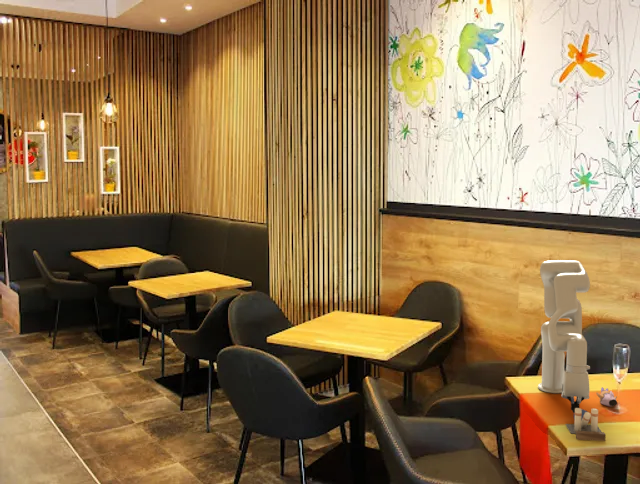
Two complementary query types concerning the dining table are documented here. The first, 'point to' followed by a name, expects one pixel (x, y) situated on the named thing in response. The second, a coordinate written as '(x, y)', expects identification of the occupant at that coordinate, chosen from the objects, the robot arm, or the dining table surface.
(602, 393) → the toy
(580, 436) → the backstop
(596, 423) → the pin back left
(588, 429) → the pin deck mark
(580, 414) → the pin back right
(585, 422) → the pin front
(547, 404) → the dining table surface
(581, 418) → the ball
